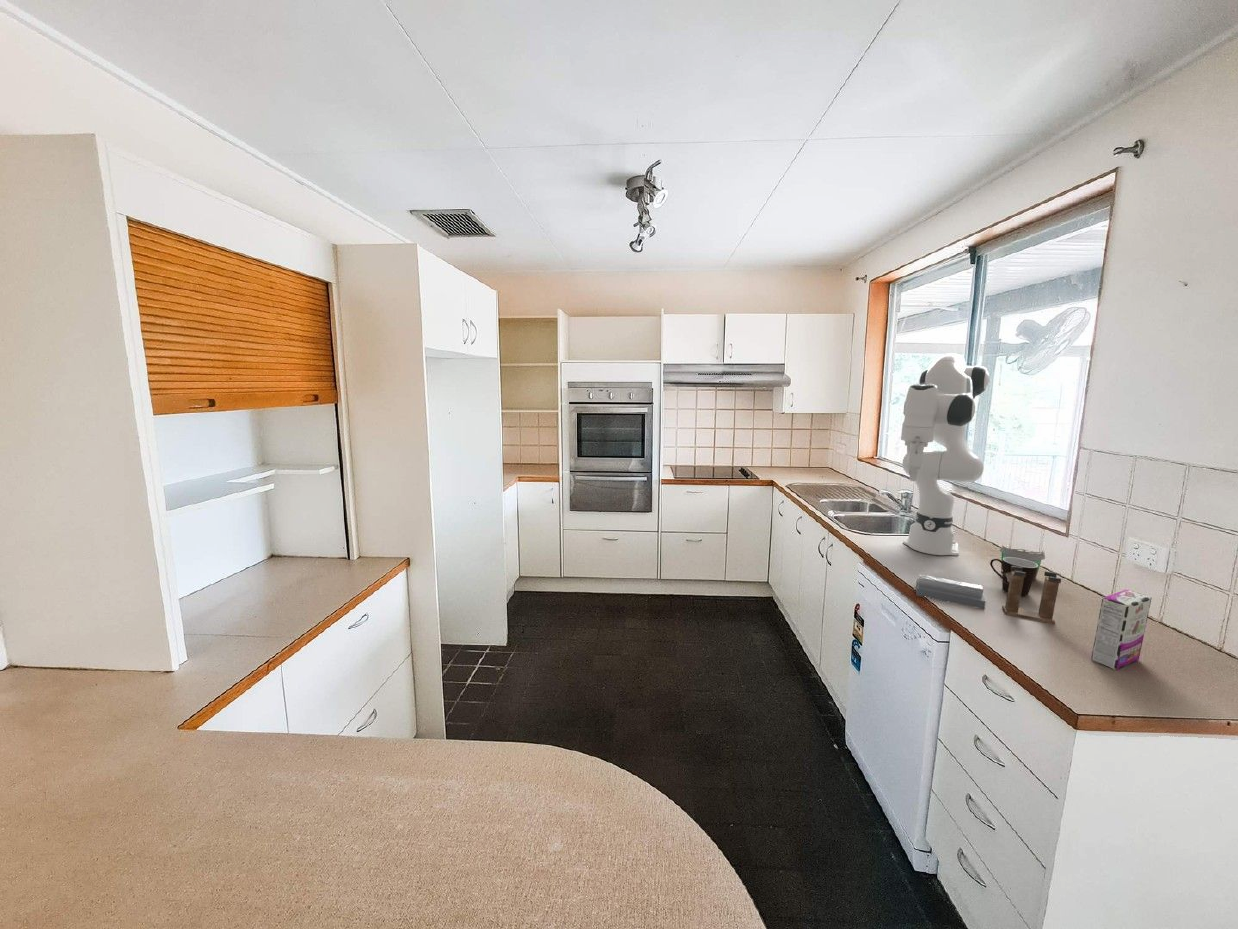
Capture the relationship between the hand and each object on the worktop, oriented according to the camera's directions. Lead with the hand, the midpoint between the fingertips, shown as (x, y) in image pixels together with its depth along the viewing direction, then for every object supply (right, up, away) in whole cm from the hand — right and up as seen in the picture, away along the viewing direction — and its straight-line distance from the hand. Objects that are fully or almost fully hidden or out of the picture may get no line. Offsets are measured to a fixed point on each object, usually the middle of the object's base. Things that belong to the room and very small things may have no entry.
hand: (912, 477), depth 157 cm
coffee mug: (+31, -36, -2) cm, 47 cm away
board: (+7, -37, -7) cm, 38 cm away
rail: (+7, -34, -8) cm, 36 cm away
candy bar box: (+24, -43, -40) cm, 64 cm away
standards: (+22, -39, -19) cm, 48 cm away
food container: (+41, -35, +7) cm, 54 cm away
